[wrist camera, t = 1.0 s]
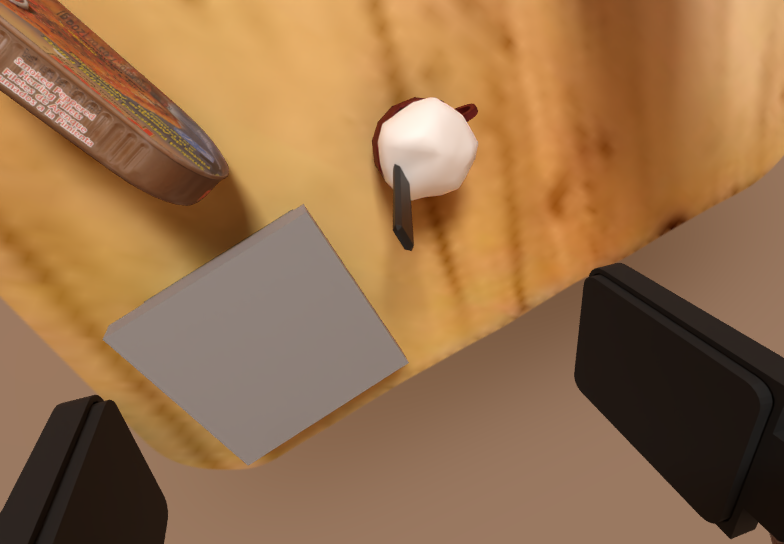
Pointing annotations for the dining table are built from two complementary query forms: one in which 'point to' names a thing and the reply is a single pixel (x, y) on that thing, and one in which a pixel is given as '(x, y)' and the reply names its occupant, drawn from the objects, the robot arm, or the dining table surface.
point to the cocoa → (422, 154)
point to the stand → (261, 338)
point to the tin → (103, 103)
